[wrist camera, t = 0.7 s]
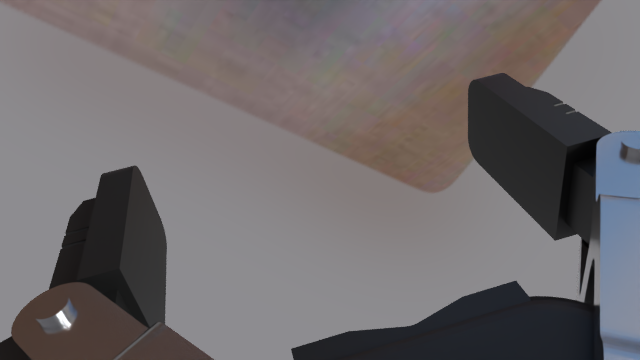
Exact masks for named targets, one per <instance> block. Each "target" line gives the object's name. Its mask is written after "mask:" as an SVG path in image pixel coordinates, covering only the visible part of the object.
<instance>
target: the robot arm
mask: <svg viewBox="0 0 640 360" xmlns="http://www.w3.org/2000/svg"><path fill="white" fill-rule="evenodd" d="M468 142H469V147H470V150H471V153H472V155H473V157H474V159H475V160H476V161H477V162H478V163H479V165H480V166H482V167H483V168H484V169H485V171H486V172H487V173H488V174H489V175H491V177H492V178H494V180H495V181H497V183H499V185H500V186H501V187H502V188H503V189H504V190H505V191H506V192H507V193H508V194H509V195H510V196H511V197H512V198H513V199H514V200H515V201H516V202H517V203H518V204H519V205H520V206H521V207H522V208H523V209H524V210H525V211H526V212H527V213H528V214H529V215H530V216H532V218H533V219H534V220H535V221H536V222H537V223H538V224H539V225H540V226H541V227H542V228H543V229H544V230H545V231H546V232H547V233H548V234H549V235H550V236H551V237H552V238H553V239H554V240H559V239H562V238H565V237H569V236H572V235H576V234H578V235H579V236H580V237H581V243H580V249H579V264H578V284H577V285H578V286H577V301H576V300H571V299H566V298H558V297H546V296H544V297H543V296H533V297H529V296H528V295H527V294H526V293H525V291H524V290H523V289H522V288H521V286H520V285H519V284H518V283H517V281H513V282H510V283H507V284H503V285H500V286H497V287H493V288H490V289H487V290H484V291H480V292H477V293H474V294H470V295H468V296H464V297H462V298H460V299H458V300H456V301H455V302H453V303H451V304H450V305H448V306H446V307H444V308H443V309H441V310H439V311H438V312H436V313H434V314H433V315H431V316H429V317H427V318H426V319H424V320H422V321H421V322H419V323H417V324H415V325H412V326H407V327H396V328H384V329H372V330H360V331H349V332H345V333H342V334H339V335H335V336H332V337H329V338H325V339H322V340H319V341H316V342H313V343H309V344H306V345H302V346H299V347H296V348H292V349H291V350H292V354H293V358H294V360H640V131H620V132H614V133H611V132H610V131H608V130H607V129H605V128H603V127H602V126H600V125H599V124H597V123H596V122H594V121H592V120H591V119H589V118H588V117H586V116H584V115H583V114H581V113H579V112H575V109H573V108H572V107H570V106H569V105H567V104H563V102H562V101H560V100H559V99H557V98H556V97H554V96H553V95H551V94H549V93H547V92H544V91H541V90H537V89H534V88H530V87H525V86H523V85H522V84H520V83H519V82H517V81H516V80H514V79H513V78H511V77H510V76H508V75H507V74H505V73H499V74H496V75H492V76H488V77H484V78H480V79H476V80H473V81H472V82H471V83H470V85H469V89H468ZM166 252H167V243H166V236H165V232H164V227H163V224H162V221H161V218H160V216H159V214H158V211H157V209H156V207H155V204H154V202H153V200H152V197H151V195H150V192H149V190H148V188H147V186H146V183H145V181H144V178H143V176H142V174H141V172H140V170H139V168H138V167H137V166H131V167H127V168H123V169H119V170H116V171H111V172H108V173H104V174H102V175H101V178H100V182H99V186H98V191H97V195H96V198H93V199H89V200H86V201H83V202H82V204H81V205H80V206H79V207H78V208H77V210H76V211H75V212H74V213H73V214H72V215H71V217H70V219H69V223H68V226H67V230H66V236H64V240H63V243H62V249H61V250H60V253H59V257H58V260H57V263H56V267H55V270H54V274H53V277H52V281H51V284H50V287H49V290H47V291H45V292H43V293H42V294H40V295H39V296H37V297H36V298H34V299H33V300H32V301H30V302H29V303H28V304H27V305H26V306H25V307H24V308H23V309H22V310H21V311H20V313H19V314H18V316H17V317H16V319H15V321H14V323H13V326H12V332H11V334H12V336H11V337H10V338H8V339H6V340H4V341H2V342H1V343H0V360H214V359H212V358H211V357H210V356H208V355H207V354H206V353H204V352H203V351H201V350H200V349H199V348H197V347H196V346H194V345H193V344H192V343H190V342H189V341H187V340H186V339H184V338H183V337H182V336H180V335H179V334H178V333H176V332H175V331H173V330H172V329H171V328H169V327H168V326H166V325H165V295H166Z"/></svg>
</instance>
